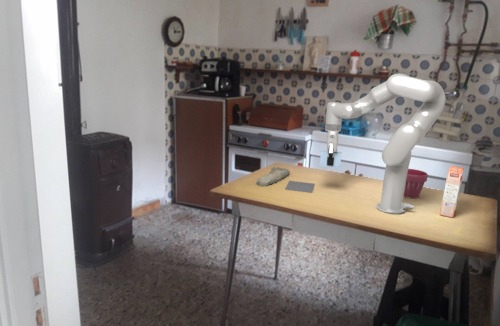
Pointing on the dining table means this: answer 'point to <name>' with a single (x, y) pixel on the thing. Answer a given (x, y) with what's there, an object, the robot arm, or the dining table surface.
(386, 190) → the robot arm
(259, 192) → the dining table surface
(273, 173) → the elongated rough stone
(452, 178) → the cracker box
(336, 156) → the pale blue upright box
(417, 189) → the plant pot
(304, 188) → the mat
